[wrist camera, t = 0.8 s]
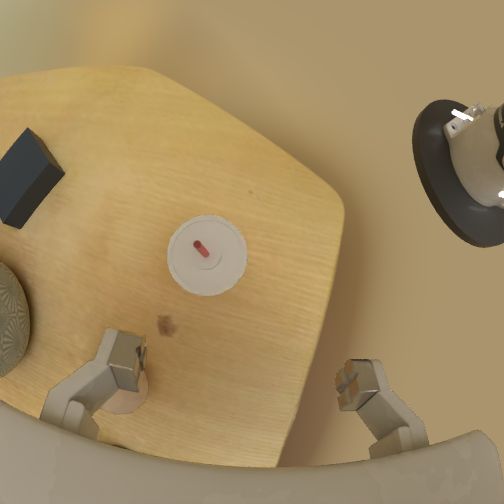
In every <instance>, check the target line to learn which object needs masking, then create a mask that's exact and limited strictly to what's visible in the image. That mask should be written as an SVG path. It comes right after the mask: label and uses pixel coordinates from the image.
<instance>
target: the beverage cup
mask: <svg viewBox="0 0 504 504" xmlns="http://www.w3.org/2000/svg"><path fill="white" fill-rule="evenodd" d="M247 261H248V256H247V244H246V242H245V240H244V238H243V236H242V234H241V232H240V230H239V229H238V228H237V227H235V226H234V225H233V224H232V223H231V222H230V221H228V220H227V219H224V218H221V217H218V216H215V215H203V216H196V217H194V218H192V219H190V220H188V221H186V222H184V223H182V224H181V226H180V227H179V228H178V229H177V230H176V231H175V232H174V233H173V235H172V237H171V240H170V242H169V245H168V248H167V266H168V268H169V270H170V272H171V274H172V276H173V279H174V280H175V281H176V282H177V283H178V284H179V285H180V286H181V287H182V288H183V289H184V290H186V291H188V292H191V293H193V294H196V295H199V296H213V295H219V294H221V293H223V292H225V291H227V290H229V289H231V288H232V287H233V286H234V285H235V284H236V283H237V282H238V281H239V279H240V278H241V277H242V276H243V273H244V270H245V267H246V264H247Z"/></svg>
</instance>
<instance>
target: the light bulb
mask: <svg viewBox="0 0 504 504" xmlns="http://www.w3.org/2000/svg"><path fill="white" fill-rule="evenodd" d="M141 375H142V381H141V385H140V389H139V393H137V392H132V391H128V390H123V389H119V388H118V391H117V392H116V393H115V394H114V395H113V396H112V397H111V398H109V399H108V400H107V401H106V402H105V403H104V404H103V405H102V406H101V407H100V408H101V409H103V410H105V411H108V412H110V413H113V414H127V413H132V412H133V411H135V410H136V409H137V408H139V407H140V406H141V405H142V404H143V403H144V402H145V399H146V396H147V394H148V381H147V377H146V374H145V372H144V371H142V372H141ZM100 408H99V409H100Z"/></svg>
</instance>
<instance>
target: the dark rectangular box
mask: <svg viewBox="0 0 504 504" xmlns="http://www.w3.org/2000/svg"><path fill="white" fill-rule="evenodd" d="M64 174H65V173H64V171H63V170H62V169H61V167H60V166H59V164H58V163H57V161H56V160H55V158H54V157H53V156H52V154H51V153H50V151H49V150H48V148H47V147H46V145H45V144H44V142H43V141H42V139H41V138H40V137H38V136H37V135H36V134H35V133H34V132H33V131H31V130H30V129H29V128H27V129H26V130H25V131H24V132H23V133H22V134H21V135H20V137H19V138H18V139H17V140H16V141H15V143H14V144H13V145H12V146H11V148H10V149H9V150H8V151H7V153H6V154H5V155H4V156H3V158H2V159H1V160H0V218H1V220H2V223H4V224H7V225H9V226H12V227H15V228H18V229H21V228H22V227H23V225H24V224H25V222H26V221H27V220H28V218H29V217H30V216H31V214H32V213H33V212H34V210H35V209H36V208H37V207H38V205H39V204H40V203H41V202H42V200H43V199H44V198H45V197H46V195H47V194H48V193H49V192H50V191H51V189H52V188H53V187H54V186H55V185H56V183H57V182H58V181H59V180H60V179H61V178H62V177H63V176H64Z"/></svg>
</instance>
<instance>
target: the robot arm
mask: <svg viewBox="0 0 504 504" xmlns="http://www.w3.org/2000/svg"><path fill="white" fill-rule="evenodd" d="M452 114H454V115H456V116H457V117H455V118H454V119H452V120H451V121H449V122H448V123H446V124H445V125H444V126H443V131H444V133H445V136H446V138H447V140H448V143H449V148H450V155H451V160H452V164H453V167H454V169H455V172H456V174H457V176H458V178H459V180H460V182H461V184H462V185H463V187H464V188H465V190H466V191H467V192H468V194H469V195H470V196H471V197H472V198H473V199H474V200H475V201H476V202H478V203H479V204H481V205H483V206H486V207H491V206H498V207H500V208H502V209H504V104H502V105H501V106H500V107H497V106H495V105H491V106H489V107H488V108H487V109H484V107H483V106H482V105H481V103H478V104H477V105H473V106H471V107H469V108H468V109H467V110H465V111H464V112H462V113H460V112H458V111H456V110H454V111H453V112H452ZM145 342H146V338H145V336H144V335H139V334H135V333H131V332H126V331H122V330H119V329H114V328H110V327H108V328H107V329H106V330H105V333H104V335H103V338H102V340H101V343H100V345H99V348H98V351H97V353H96V356H95V359H94V361H92V360H90V361H88V362H87V363H86V364H84V365H83V366H82V367H80V368H79V369H78V370H76V371H75V372H73V373H72V374H71V375H69V376H68V377H67V378H65V379H64V380H63V381H61V382H60V383H59V384H57V385H56V386H55V387H53V388H52V389H51V390H49V393H48V395H47V398H46V401H45V404H44V406H43V409H42V412H41V415H40V418H39V419H38V418H36V417H33V416H31V415H29V414H27V413H25V412H23V411H21V410H19V409H17V408H15V407H13V406H11V405H9V404H7V403H6V402H4V401H2V400H0V504H504V482H503V475H502V469H501V464H500V460H499V455H498V451H497V448H496V446H495V444H494V443H493V442H492V441H491V440H490V439H489V438H488V437H487V436H486V434H484V433H483V432H482V431H481V430H474V431H471V432H469V433H466V434H463V435H461V436H458V437H455V438H452V439H449V440H446V441H443V442H440V443H436V444H433V445H429V441H428V437H427V434H426V430H425V427H424V423H423V421H422V420H421V419H420V418H419V417H418V416H417V415H416V414H415V413H414V412H413V411H412V410H411V409H410V408H409V407H408V406H407V405H406V404H405V403H404V402H403V401H402V400H401V399H400V398H399V397H398V396H397V395H396V394H395V393H394V391H390V388H389V385H388V382H387V379H386V375H385V372H384V369H383V366H382V363H381V361H380V360H368V359H363V360H362V359H349V360H347V361H346V362H345V363H344V366H345V367H344V368H342V369H340V370H339V371H338V373H337V375H336V378H335V386H336V390H337V391H338V392H339V393H340V395H339V397H338V403H339V409H340V411H356V412H357V413H358V415H359V416H360V417H361V419H362V420H363V421H364V423H365V424H366V425H367V427H368V428H369V430H370V431H371V432H372V434H373V435H374V436H375V438H376V439H377V440H378V442H376V443H374V444H373V445H371V446H370V447H369V452H370V458H371V459H369V460H362V461H356V462H349V463H340V464H331V465H321V466H307V467H281V468H279V467H276V468H267V467H237V466H223V465H212V464H203V463H195V462H188V461H181V460H175V459H169V458H163V457H158V456H153V455H148V454H144V453H139V452H135V451H131V450H127V449H123V448H119V447H116V446H112V445H109V444H105V443H102V442H99V441H97V440H98V435H99V431H100V428H99V426H98V425H97V424H96V422H95V421H94V419H93V418H92V417H91V416H92V415H93V414H94V413H95V412H96V411H97V410H98V409H99V408H100V407H101V406H102V405H103V404H104V403H105V402H106V401H107V400H108V399H109V398H111V397H112V396H113V395H114V394H115V393H116V392H117V391H118V388H119V389H123V390H128V391H132V392H137V393H139V389H140V385H141V381H142V375H141V372H142V371H143V370H144V369H145V365H146V359H147V347H146V346H145Z"/></svg>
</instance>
